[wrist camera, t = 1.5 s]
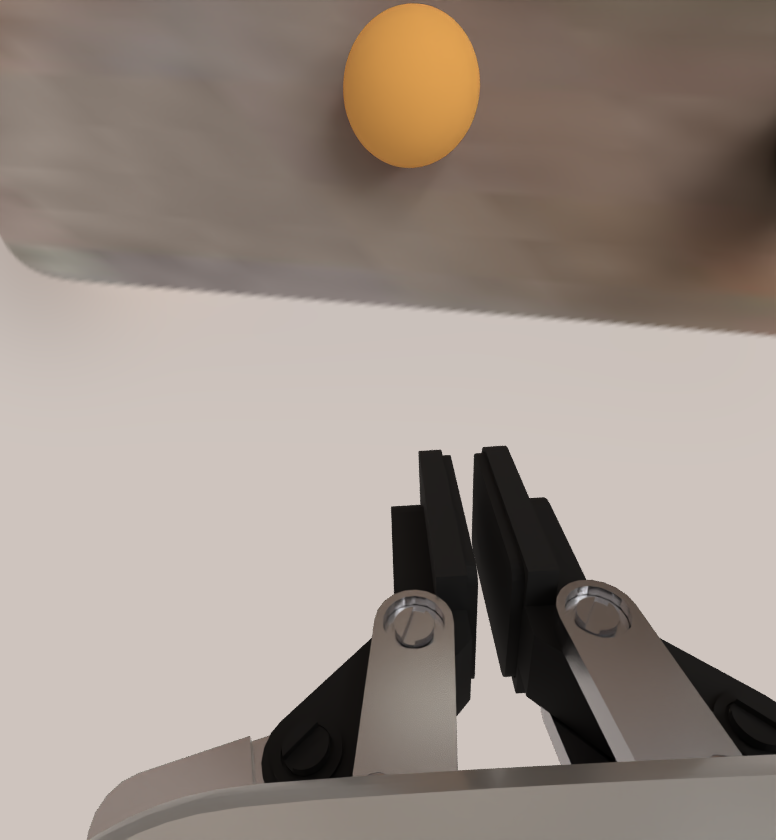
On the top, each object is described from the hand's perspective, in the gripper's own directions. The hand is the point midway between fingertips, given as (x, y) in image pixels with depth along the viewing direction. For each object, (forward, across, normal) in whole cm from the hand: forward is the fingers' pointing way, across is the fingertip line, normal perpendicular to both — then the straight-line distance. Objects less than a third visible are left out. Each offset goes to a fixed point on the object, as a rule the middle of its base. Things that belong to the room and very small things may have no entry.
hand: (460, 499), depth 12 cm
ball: (+14, 0, -10) cm, 17 cm away
